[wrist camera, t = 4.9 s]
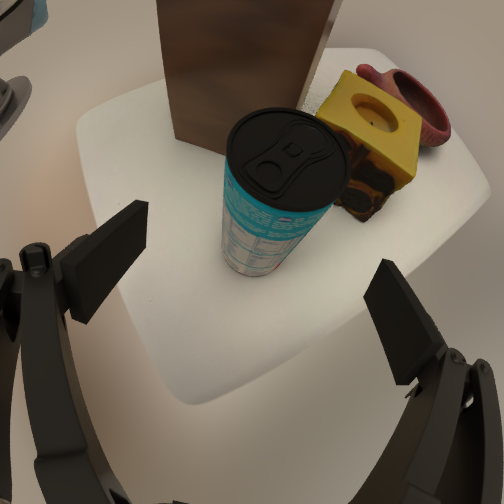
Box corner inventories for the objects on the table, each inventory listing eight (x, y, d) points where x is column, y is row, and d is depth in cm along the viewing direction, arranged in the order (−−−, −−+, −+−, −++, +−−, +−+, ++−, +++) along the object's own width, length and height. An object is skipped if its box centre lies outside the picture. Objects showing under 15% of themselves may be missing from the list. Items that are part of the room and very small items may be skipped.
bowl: (404, 97, 37) (425, 69, 29) (444, 155, 34) (472, 129, 26) (335, 96, 34) (354, 57, 26) (381, 166, 31) (414, 129, 23)
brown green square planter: (175, 138, 28) (152, -46, 7) (213, 89, 31) (222, -61, 10) (273, 174, 28) (343, -24, 7) (298, 117, 31) (355, -34, 10)
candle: (364, 225, 28) (417, 182, 19) (285, 177, 29) (312, 115, 19) (384, 164, 31) (426, 118, 22) (318, 124, 31) (345, 67, 22)
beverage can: (295, 254, 26) (373, 171, 12) (246, 290, 25) (284, 236, 10) (258, 207, 27) (295, 94, 13) (209, 239, 26) (200, 135, 11)
